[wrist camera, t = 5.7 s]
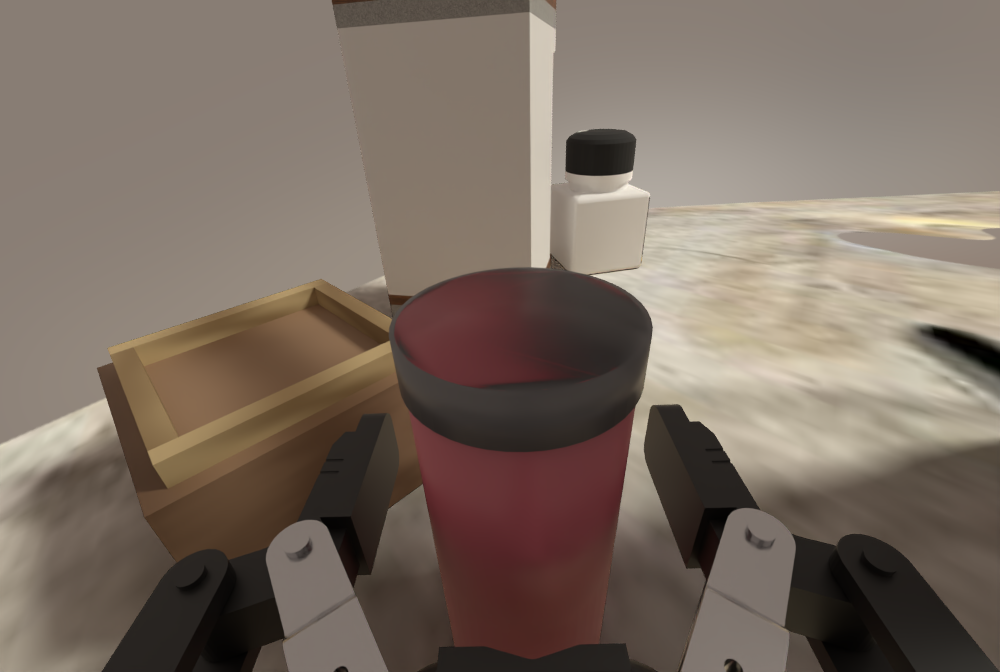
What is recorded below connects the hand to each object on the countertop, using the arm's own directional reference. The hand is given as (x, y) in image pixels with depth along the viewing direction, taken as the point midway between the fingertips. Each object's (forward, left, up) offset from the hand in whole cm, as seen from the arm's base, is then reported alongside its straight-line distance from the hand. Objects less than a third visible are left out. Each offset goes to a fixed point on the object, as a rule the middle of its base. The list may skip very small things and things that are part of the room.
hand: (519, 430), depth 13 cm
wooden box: (+3, -12, -7) cm, 14 cm away
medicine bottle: (-29, -17, -7) cm, 34 cm away
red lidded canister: (+1, +1, -7) cm, 7 cm away
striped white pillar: (-16, -20, -7) cm, 26 cm away
